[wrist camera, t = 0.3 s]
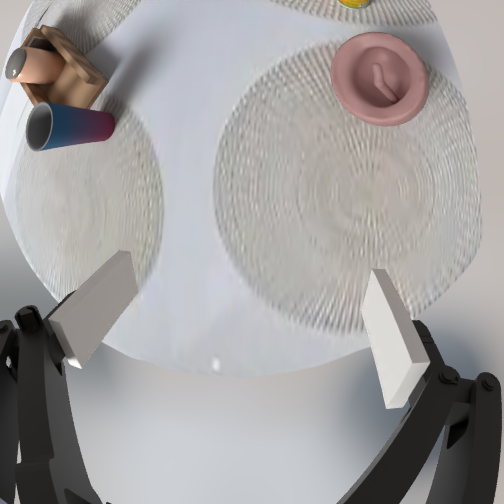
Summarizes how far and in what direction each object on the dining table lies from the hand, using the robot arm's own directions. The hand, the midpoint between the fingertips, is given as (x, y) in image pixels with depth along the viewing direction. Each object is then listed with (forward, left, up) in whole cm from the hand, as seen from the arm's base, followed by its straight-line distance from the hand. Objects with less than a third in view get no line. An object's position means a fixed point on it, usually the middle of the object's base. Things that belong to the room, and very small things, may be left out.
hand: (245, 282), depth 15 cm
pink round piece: (-17, +11, -27) cm, 34 cm away
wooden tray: (-25, -44, -26) cm, 57 cm away
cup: (-12, -31, -27) cm, 42 cm away
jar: (-27, -46, -25) cm, 59 cm away
